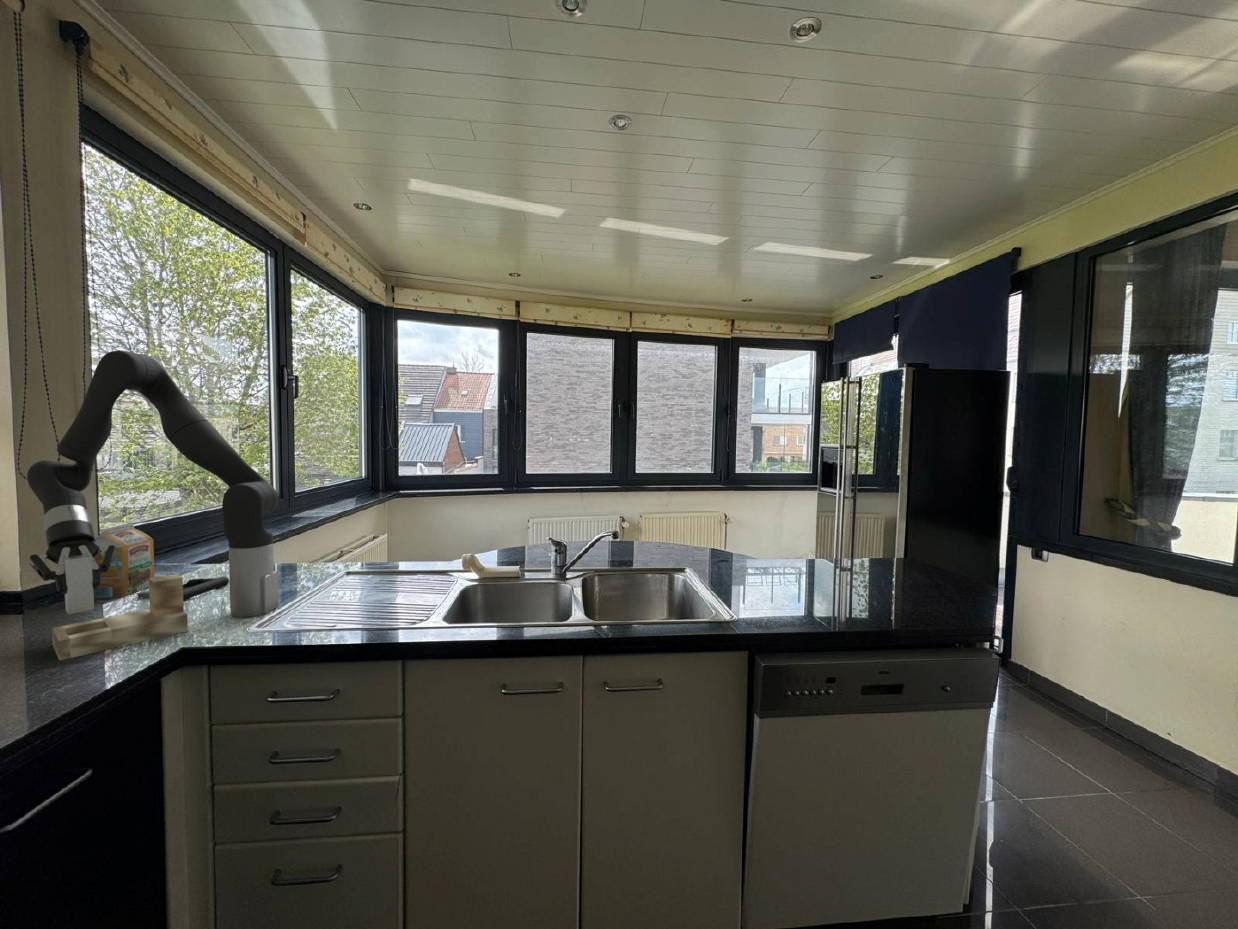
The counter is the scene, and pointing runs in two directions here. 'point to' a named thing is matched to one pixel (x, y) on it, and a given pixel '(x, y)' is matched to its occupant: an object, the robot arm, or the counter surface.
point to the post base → (127, 623)
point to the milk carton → (125, 561)
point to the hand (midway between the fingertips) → (80, 589)
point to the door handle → (197, 587)
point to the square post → (78, 583)
